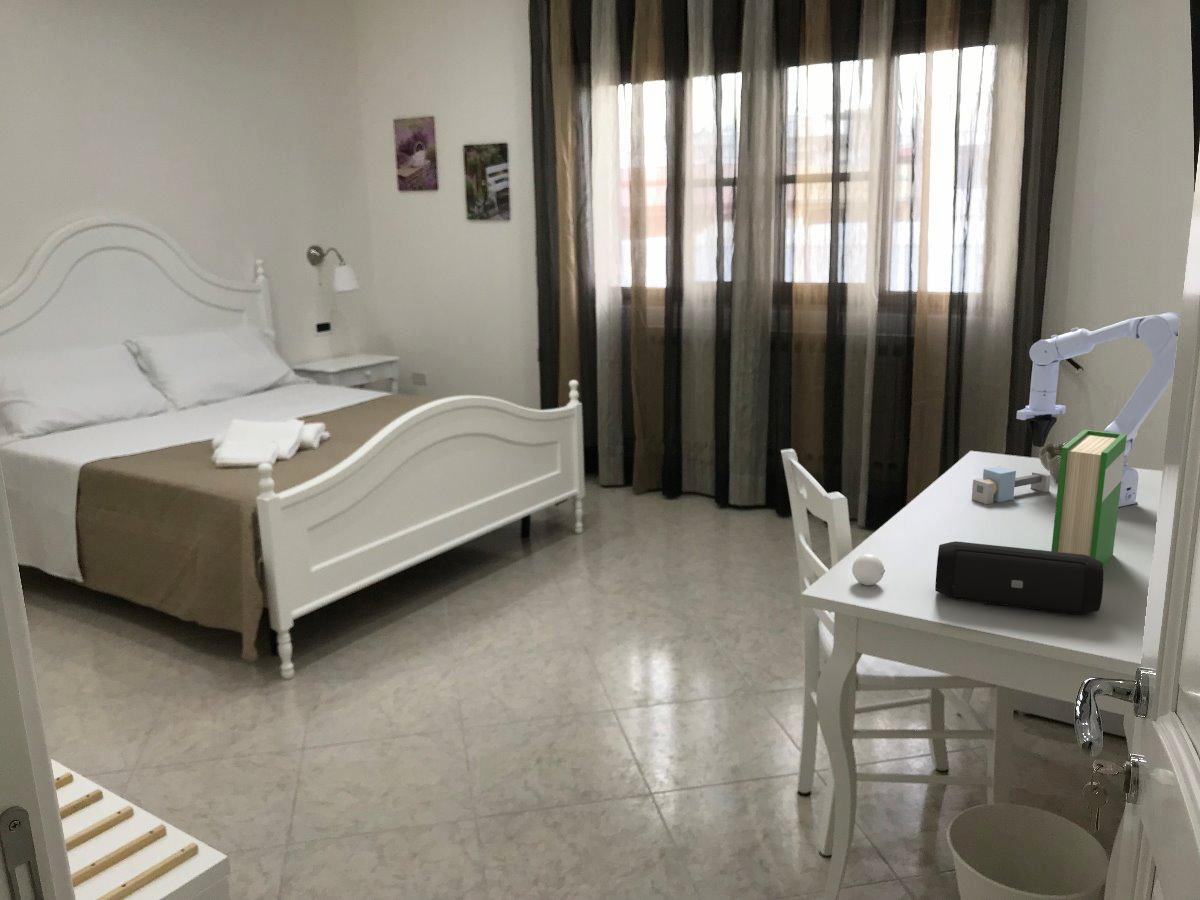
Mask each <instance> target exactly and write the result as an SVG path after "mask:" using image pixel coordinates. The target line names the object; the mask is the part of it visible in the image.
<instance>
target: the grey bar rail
mask: <svg viewBox="0 0 1200 900" xmlns="http://www.w3.org/2000/svg"><path fill="white" fill-rule="evenodd" d="M1027 485H1030V489H1032V490H1035V491H1039V492H1043V493H1047V492H1050V487H1051V474H1048V473H1044V472H1041V471H1040V472H1039V471H1037V470H1036V471H1032V472H1031V474H1030V475H1024V476H1017V477H1015V487H1014V488H1018V487H1022V486H1027ZM971 489H972V491H971V500H972V501H975V502H979V503H981V504H985V505H990V504H993V503H994V501H993V497H994V495H995V494H996V492H997V484H996V483H995V481H994V480H992V479H987V480H983V478H980V477H979V478H974V479H972V488H971Z"/></svg>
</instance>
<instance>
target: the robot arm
mask: <svg viewBox="0 0 1200 900" xmlns="http://www.w3.org/2000/svg"><path fill="white" fill-rule="evenodd" d="M1180 316H1181V315H1180V314H1178V313H1177V312H1172V311H1167V312H1163V313H1161V314H1152V315H1146V316H1145V315H1144V316H1137V317H1134V318H1133V317H1132V318H1128V319H1125V320H1122V321H1120V322H1117V323H1114V324H1111V325H1110V324H1109V325H1107V326H1104V327H1101V328H1098V329H1096V330H1092V331H1091V330H1089V329H1086V328H1085V327H1084V328H1079V326H1078V327H1073V328H1071V329H1070V332H1065V333H1063V334H1060V335H1058V334H1053V335H1051V336H1050V338H1047V339H1039V340H1037V341H1036V342H1035V343H1033V344H1032V345H1031V347H1030V349H1029V352H1028V353H1029V358H1030V360H1031V361H1032V368H1031V369H1032V370H1031V379H1030V389H1029V390H1030V392H1029V402H1028V405H1025V408H1023V409H1020V410H1017V411H1016V420H1020V421H1025V422H1026V424H1027V427H1028V429H1029V433H1030V435H1031V442H1032V446H1034V447H1037V448H1043V447H1044V446H1045V444H1046V441H1047V439H1048V435H1049V434H1050V431H1051V430H1052V428H1053V427H1054V425H1055V424H1056V422H1057V419H1058V418H1057V417H1055V416H1054V415H1059V414H1060V415H1065V414H1066V409H1067V406H1066V405H1063V404H1062V405H1061V404H1056V402H1057V401H1056V400H1057V390H1058V383H1059V382H1058V381H1059V370H1060V362H1061V361H1062V360H1063V361H1064V360H1068V359H1071V358H1075V357H1079V356H1082V355H1085V354H1088V353H1091V352H1092V351H1093V350H1094V348H1095V346H1096V345H1098V344H1103V343H1106V342H1107V343H1108V342H1110V341H1114V340H1118V339H1121V338H1125V337H1128V338H1132V339H1134V340H1138V339H1140V340H1141V342H1142V344H1144V345H1145V346H1146V348H1147V349H1148V351H1150V354H1151V356H1152V359H1153V364H1152V365H1151V367H1150V368H1149V369H1148V371H1147V372H1146V373H1145V375H1144V376H1143V378H1142V379H1141V381H1140V382H1139V384H1138V385H1137V386H1136V388H1135V390H1134V392H1132V394H1131V396H1130V397H1129V399H1128V400H1127V402H1126V403H1125V405H1124V406H1123V407H1122V408H1121V409H1120V412H1119V413H1118V414H1117V416H1116V417H1115V419H1114V420H1112V422H1111V423H1110V424H1109V425H1108V426H1107V427H1106V428H1105V429H1104V430H1103V431H1102V432H1111V433H1120V434H1127V438H1126V446H1125V455H1124V463H1123V472H1122V480H1121V489H1120V497H1119V506H1118V508H1121V507H1124V506H1125V507H1126V506H1129V505H1133V504H1134V505H1135V504H1138V502H1139V501H1138V500H1137V495H1138V494H1137V493H1138V483H1139V473H1138V470H1136V469H1135V468H1133V467H1131V466H1129V465H1128V459H1127V456H1129V454H1131V452H1132V451H1133V448H1134V442H1135V439H1136V437H1138V430H1139V429H1140V426H1142V424H1143V423H1144V421H1145V419H1146V418H1147V417H1148V416H1149V414H1150V413H1151V411H1152V410H1153V408H1154V407H1155V405H1156V404H1157V403H1158V401H1159V400H1160V399H1161V397H1162V396H1163V395H1164V393H1165V392H1166V390H1167V389H1168V387H1169V386H1170V385H1171V383H1172V382H1173V380H1174V379H1173V371H1174V361H1175V353H1176V345H1177V336H1178V329H1179V322H1180Z"/></svg>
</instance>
